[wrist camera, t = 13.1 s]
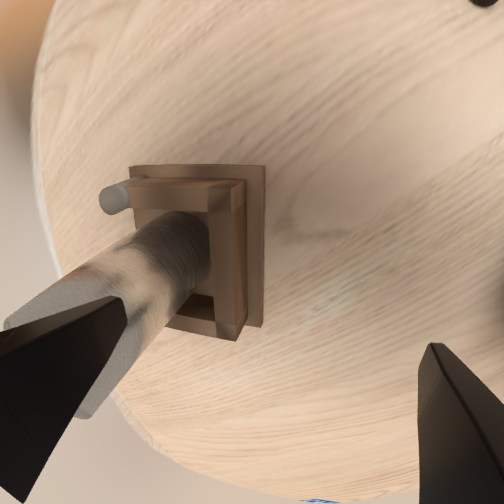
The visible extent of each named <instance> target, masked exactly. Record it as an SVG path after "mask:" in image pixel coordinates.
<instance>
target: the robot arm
mask: <svg viewBox="0 0 504 504" xmlns="http://www.w3.org/2000/svg"><path fill="white" fill-rule="evenodd" d="M127 323H128V319H127V314H126V311H125V306H124V302H123V300H122V299H121V298H120V297H116V296H112V295H110V296H106V297H103V298H100V299H97V300H94V301H91V302H88V303H85V304H82V305H79V306H76V307H73V308H71V309H68V310H65V311H62V312H59V313H56V314H53V315H50V316H47V317H44V318H41V319H38V320H35V321H32V322H29V323H26V324H23V325H20V326H18V327H14V328H11V329H8V330H5V331H2V332H0V486H1V487H2V488H3V489H4V490H6V491H7V492H8V493H9V494H11V495H12V496H13V497H14V498H16V499H17V500H18V501H19V502H21V503H22V504H23V503H24V502H25V501H26V499H27V497H28V495H29V493H30V492H31V490H32V488H33V486H34V484H35V482H36V480H37V478H38V477H39V475H40V473H41V471H42V469H43V468H44V466H45V464H46V462H47V460H48V458H49V457H50V455H51V453H52V451H53V450H54V448H55V446H56V444H57V443H58V441H59V439H60V438H61V436H62V434H63V433H64V431H65V429H66V428H67V426H68V424H69V423H70V421H71V419H72V418H73V416H74V414H75V413H76V411H77V410H78V408H79V406H80V405H81V403H82V402H83V400H84V398H85V397H86V395H87V394H88V392H89V390H90V389H91V387H92V386H93V384H94V383H95V381H96V379H97V378H98V376H99V375H100V373H101V372H102V370H103V369H104V367H105V365H106V364H107V362H108V360H109V359H110V357H111V355H112V353H113V351H114V349H115V347H116V345H117V343H118V341H119V340H120V338H121V336H122V334H123V332H124V330H125V328H126V326H127ZM417 422H418V440H419V469H420V493H419V504H504V404H503V403H502V402H501V401H500V400H499V399H498V398H497V397H496V396H495V395H494V394H493V393H492V392H491V391H490V390H489V388H488V387H487V386H486V385H485V384H484V383H483V382H482V381H481V380H480V379H479V378H478V377H477V376H476V375H475V374H474V373H473V372H472V371H471V370H470V369H469V368H468V367H467V366H466V365H465V364H464V363H463V362H462V361H461V360H460V359H459V358H458V357H457V356H456V355H455V354H454V353H453V352H452V351H451V350H450V349H449V348H448V347H447V346H446V345H444V344H443V343H433V342H431V343H429V344H428V346H427V348H426V350H425V353H424V355H423V358H422V360H421V363H420V365H419V369H418V418H417Z"/></svg>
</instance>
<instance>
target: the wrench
mask: <svg viewBox="0 0 504 504" xmlns="http://www.w3.org/2000/svg"><path fill="white" fill-rule="evenodd" d="M473 1H475V2H476V3H478V4H480V5H483V6H490V5H493V4H494V3H496V2H497V1H498V0H473Z"/></svg>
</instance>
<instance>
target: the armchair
mask: <svg viewBox="0 0 504 504" xmlns="http://www.w3.org/2000/svg"><path fill="white" fill-rule="evenodd" d="M129 172H130V179H128V180H125V181H123V182H120V183H117V184H114V185H112V186H109V187H106V188H104V189H103V190H102V191H101V192H100V195H99V203H100V206H101V208H102V210H103V211H104V212H105V213H107V214H108V215H114V214H116V213H118V212H120V211H122V210H124V209H126V208H133V211H134V219H135V226H136V230H137V229H139V228H140V227H142V226H144V225H145V224H147V223H149V222H150V221H152V220H154V219H155V218H157V217H159V216H160V215H162V214H164V213H166V212H170V211H182V212H186V213H189V214H191V215H193V216H195V217H196V218H198V219H199V220H200V221H201V222H202V223H203V224H204V225H205V226H206V227H207V228H208V230H209V242H210V258H211V272H210V273H209V274H208V275H207V276H206V278H205V279H204V280H203V281H202V282H201V283H200V285H199V286H198V287H197V288H196V289H195V291H194V292H193V293H192V294H191V295H190V297H189V298H188V299H187V300H186V301H185V303H184V304H183V305H182V306H181V307H180V309H179V310H178V311H177V312H176V313H175V315H174V316H173V317H172V318H171V319H170V321H169V322H168V323H167V324H166V325H165V327H168V328H173V329H177V330H182V331H186V332H191V333H195V334H200V335H205V336H210V337H215V338H220V339H225V340H230V341H236V340H237V338H238V336H239V334H240V332H241V330H242V328H243V326H244V325H248V326H254V327H260V328H261V326H262V324H263V263H264V166H259V165H218V164H182V165H142V166H132V167H129Z"/></svg>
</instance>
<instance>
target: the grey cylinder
mask: <svg viewBox="0 0 504 504" xmlns="http://www.w3.org/2000/svg"><path fill="white" fill-rule="evenodd" d="M210 272H211V258H210V242H209V230H208V228H207V227H206V226H205V225H204V224H203V223H202V222H201V221H200V220H199V219H198V218H196V217H195V216H193V215H191V214H189V213H186V212H182V211H170V212H166V213H164V214H162V215H160V216H159V217H157V218H155V219H154V220H152V221H150V222H149V223H147V224H145V225H144V226H142V227H140V228H139V229H137V230H135V231H134V232H132V233H130V234H129V235H127V236H126V237H124V238H122V239H121V240H119V241H118V242H116V243H114V244H113V245H111V246H110V247H108V248H107V249H105V250H103V251H102V252H100V253H99V254H97V255H96V256H94V257H93V258H91V259H90V260H88V261H87V262H85V263H84V264H82V265H81V266H79V267H78V268H76V269H75V270H73V271H72V272H70V273H69V274H67V275H66V276H64V277H63V278H61V279H60V280H59V281H57V282H56V283H54V284H53V285H51V286H50V287H49V288H47V289H46V290H44V291H43V292H42V293H40V294H39V295H37V296H36V297H35V298H33V299H32V300H30V301H29V302H28V303H26V304H25V305H24V306H22V307H21V308H20V309H18V310H17V311H16V312H14V313H13V314H12V315H10V316H9V317H8V318H6V320H5V321H4V331H5V330H8V329H11V328H14V327H18V326H20V325H23V324H26V323H29V322H32V321H35V320H38V319H41V318H44V317H47V316H50V315H53V314H56V313H59V312H62V311H65V310H68V309H71V308H73V307H76V306H79V305H82V304H85V303H88V302H91V301H94V300H97V299H100V298H103V297H106V296H110V295H112V296H116V297H120V298H121V299H122V300H123V302H124V306H125V311H126V314H127V319H128V323H127V326H126V328H125V330H124V332H123V334H122V336H121V338H120V340H119V341H118V343H117V345H116V347H115V349H114V351H113V353H112V355H111V357H110V359H109V360H108V362H107V364H106V365H105V367H104V369H103V370H102V372H101V373H100V375H99V376H98V378H97V379H96V381H95V383H94V384H93V386H92V387H91V389H90V390H89V392H88V394H87V395H86V397H85V398H84V400H83V402H82V403H81V405H80V406H79V408H78V410H77V411H76V413H75V414H74V417H77V418H80V419H89V418H90V417H91V416H92V415H93V414H94V413H95V411H96V410H97V409H98V408H99V406H100V405H101V404H102V403H103V401H104V400H105V399H106V398H107V396H108V395H109V394H110V393H111V392H112V390H113V389H114V388H115V387H116V385H117V384H118V383H119V382H120V380H121V379H122V378H123V377H124V375H125V374H126V373H127V372H128V370H129V369H130V368H131V367H132V366H133V364H134V363H135V362H136V361H137V359H138V358H139V357H140V356H141V355H142V353H143V352H144V351H145V350H146V348H147V347H148V346H149V345H150V344H151V342H152V341H153V340H154V339H155V337H156V336H157V335H158V334H159V333H160V331H161V330H162V329H163V328H164V327H165V325H166V324H167V323H168V322H169V321H170V319H171V318H172V317H173V316H174V315H175V313H176V312H177V311H178V310H179V309H180V307H181V306H182V305H183V304H184V303H185V301H186V300H187V299H188V298H189V297H190V295H191V294H192V293H193V292H194V291H195V289H196V288H197V287H198V286H199V285H200V283H201V282H202V281H203V280H204V279H205V278H206V276H207V275H208V274H209V273H210Z"/></svg>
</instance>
